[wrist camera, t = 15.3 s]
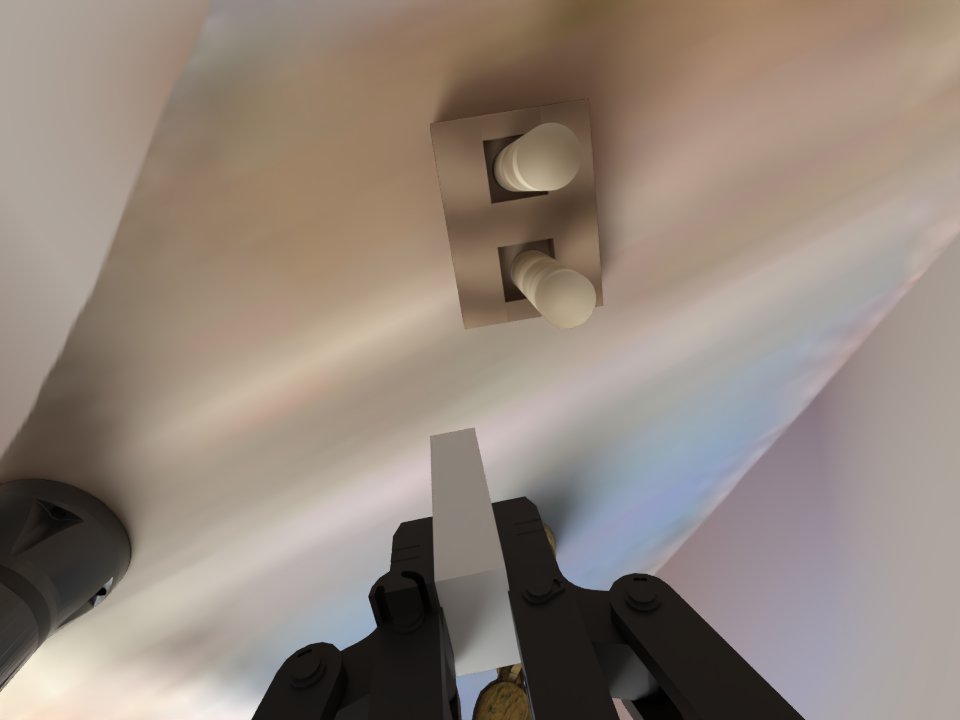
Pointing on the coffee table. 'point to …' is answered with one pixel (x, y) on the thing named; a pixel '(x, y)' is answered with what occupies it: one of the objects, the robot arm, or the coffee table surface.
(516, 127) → the wooden peg stand
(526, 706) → the wooden mug
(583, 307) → the beech peg
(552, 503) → the coffee table surface
